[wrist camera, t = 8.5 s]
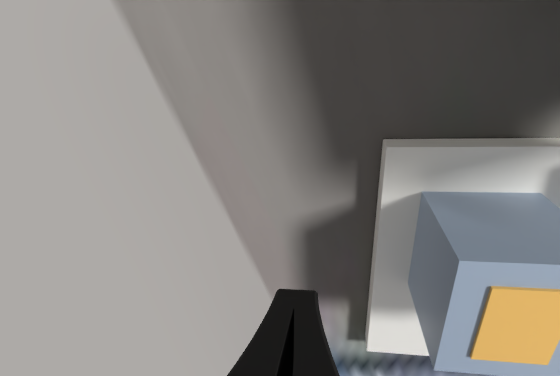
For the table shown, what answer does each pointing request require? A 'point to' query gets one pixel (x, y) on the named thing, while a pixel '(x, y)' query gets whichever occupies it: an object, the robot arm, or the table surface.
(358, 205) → the table surface
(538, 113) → the table surface
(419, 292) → the block
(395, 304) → the rail board
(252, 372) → the robot arm
